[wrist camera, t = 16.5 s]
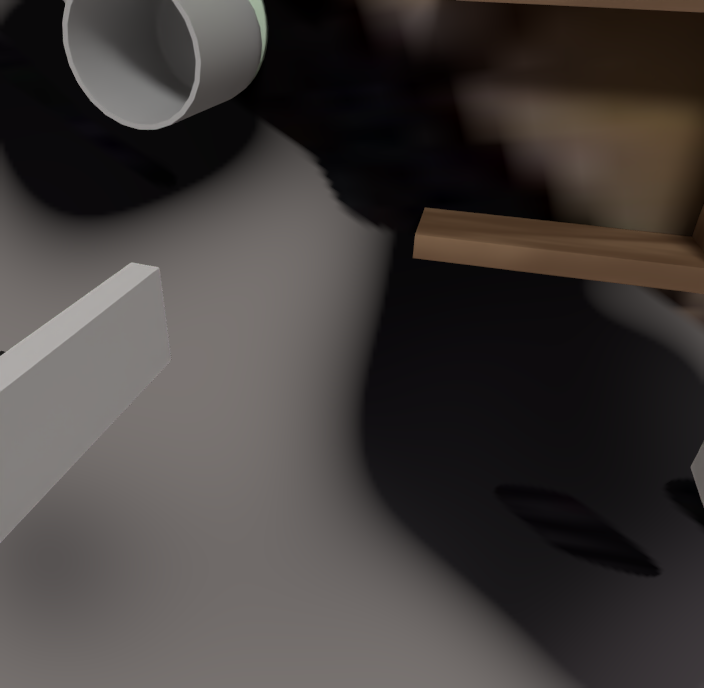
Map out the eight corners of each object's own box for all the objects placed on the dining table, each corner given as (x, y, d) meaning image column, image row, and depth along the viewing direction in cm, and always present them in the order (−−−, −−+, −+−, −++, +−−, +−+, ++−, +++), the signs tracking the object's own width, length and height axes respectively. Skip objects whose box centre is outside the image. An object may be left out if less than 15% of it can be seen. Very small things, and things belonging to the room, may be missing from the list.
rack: (450, -35, 32) (441, -38, 27) (819, -21, 29) (872, -22, 24) (422, 229, 40) (412, 258, 35) (709, 261, 37) (735, 297, 32)
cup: (231, 124, 38) (165, 159, 31) (98, 22, 37) (-5, 32, 29) (286, 22, 34) (226, 33, 27) (141, -97, 33) (34, -120, 25)
